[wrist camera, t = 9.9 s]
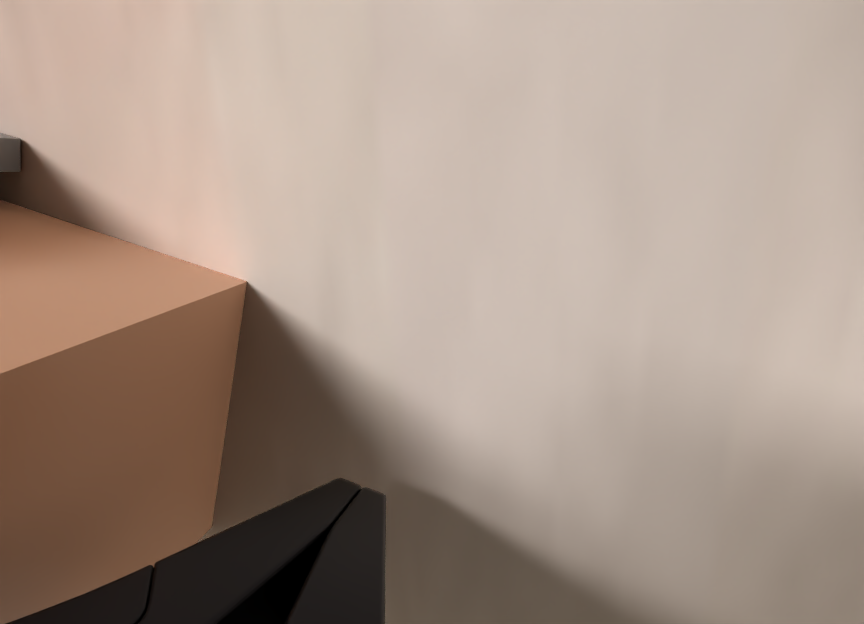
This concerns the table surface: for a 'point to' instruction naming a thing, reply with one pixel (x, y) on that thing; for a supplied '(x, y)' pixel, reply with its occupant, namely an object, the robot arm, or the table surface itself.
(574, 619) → the table surface
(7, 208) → the orange block with dome
